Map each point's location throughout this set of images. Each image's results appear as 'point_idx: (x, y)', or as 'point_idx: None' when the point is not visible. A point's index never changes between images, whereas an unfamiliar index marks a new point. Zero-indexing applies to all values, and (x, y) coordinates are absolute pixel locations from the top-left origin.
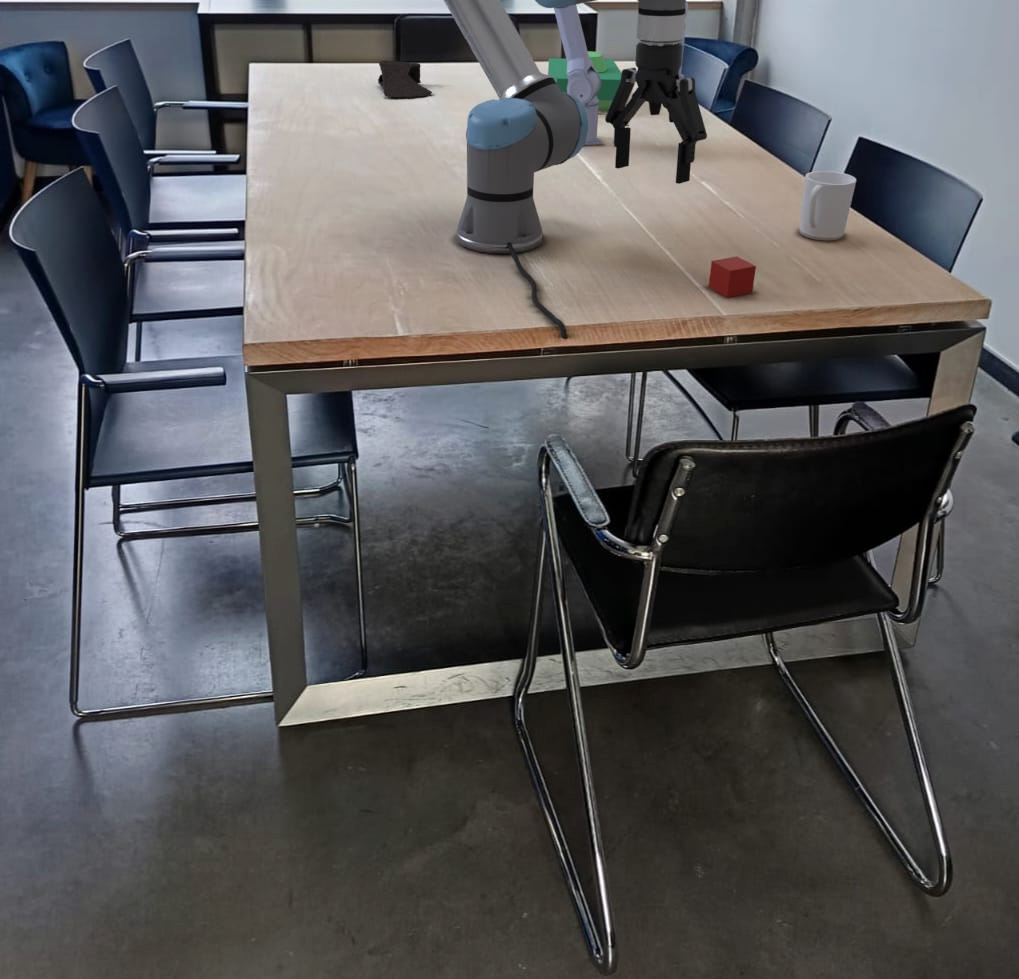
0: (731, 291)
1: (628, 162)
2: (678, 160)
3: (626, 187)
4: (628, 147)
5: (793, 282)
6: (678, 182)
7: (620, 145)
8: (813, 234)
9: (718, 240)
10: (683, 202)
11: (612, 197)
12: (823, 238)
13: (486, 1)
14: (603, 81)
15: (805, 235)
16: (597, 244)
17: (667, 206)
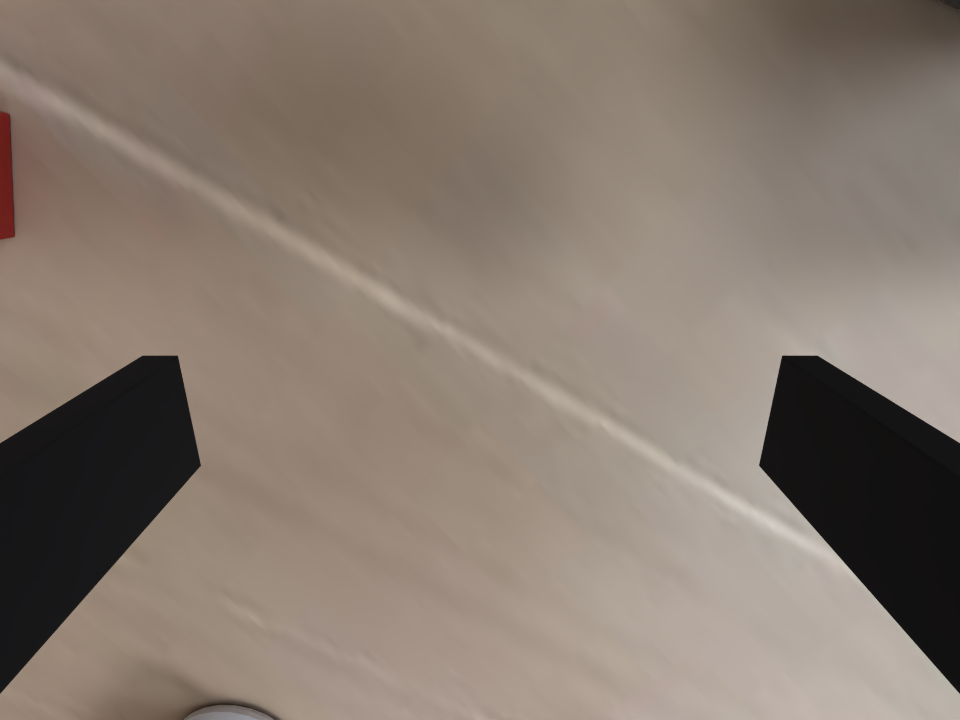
0: None
1: (773, 476)
2: (30, 443)
3: (942, 701)
4: (849, 548)
5: None
6: (143, 359)
7: (914, 466)
8: (206, 716)
9: (376, 526)
10: (699, 708)
11: None
12: (186, 717)
13: None
14: None
15: (238, 708)
16: (654, 153)
17: (716, 654)
